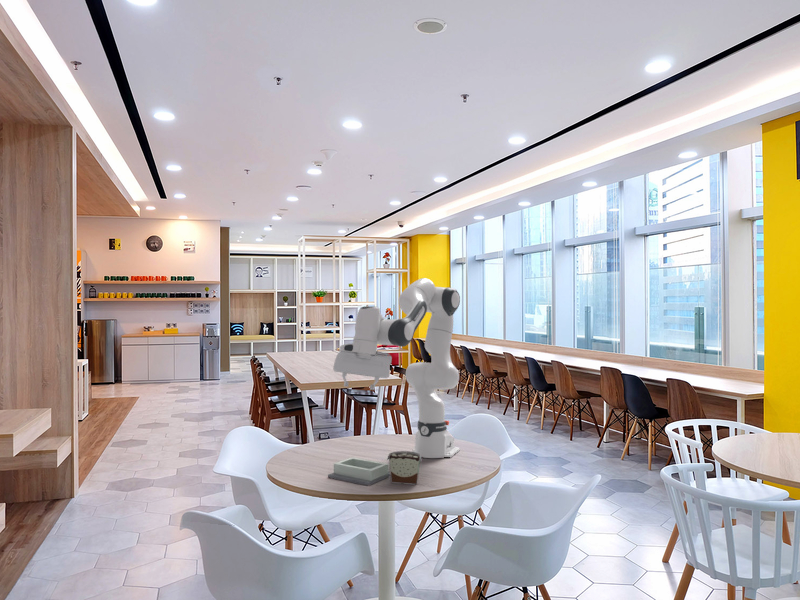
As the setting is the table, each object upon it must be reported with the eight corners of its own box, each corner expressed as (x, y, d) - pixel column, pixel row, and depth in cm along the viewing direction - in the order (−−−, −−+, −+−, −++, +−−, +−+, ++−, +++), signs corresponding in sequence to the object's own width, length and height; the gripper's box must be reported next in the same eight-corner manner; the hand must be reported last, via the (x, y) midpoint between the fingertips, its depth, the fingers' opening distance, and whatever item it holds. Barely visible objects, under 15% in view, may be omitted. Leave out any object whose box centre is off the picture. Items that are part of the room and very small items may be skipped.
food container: (424, 479, 195) (424, 451, 195) (421, 485, 189) (421, 456, 189) (391, 477, 198) (391, 449, 198) (387, 482, 192) (387, 453, 192)
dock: (355, 467, 211) (355, 455, 211) (393, 474, 201) (393, 462, 201) (328, 477, 197) (328, 464, 197) (368, 485, 187) (368, 472, 188)
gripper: (391, 354, 200) (386, 391, 197) (336, 346, 197) (330, 384, 194) (393, 352, 194) (389, 391, 191) (337, 344, 191) (331, 384, 188)
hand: (359, 388), depth 192 cm, fingers open, 8 cm apart
